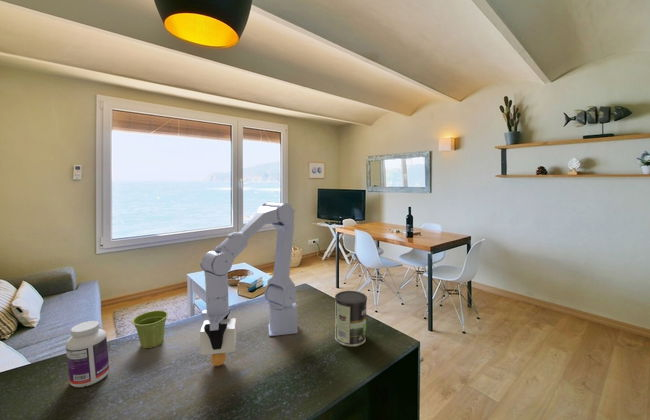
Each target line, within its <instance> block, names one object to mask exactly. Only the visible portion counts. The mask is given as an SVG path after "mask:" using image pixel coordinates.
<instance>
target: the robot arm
mask: <svg viewBox="0 0 650 420" xmlns="http://www.w3.org/2000/svg"><path fill="white" fill-rule="evenodd" d="M295 211H296V210H295V209H294V208H293V207H292V205H291V204H290V203H289V202H284V203H283V202H273V201H265V202H263V203H262V204H261V206H259V207H258V208H257V212H256V213H255V214H254V215H253V216H252V217H251V219H249V221H248V222H246V224H245V225H244V226H243V227H242V228H241V229H240V230H239V231H233V232H229V233H228V234H227V235H226V238H225V239H224V240H222V242H221V243H219V244H218V245H216V246H215V247H214V249H213V250H210V251H207V252H206V253H204V255H203V256H202V259H201V261H200V262H199V265H200V268H201V270H203V272H204V281H205V282H204V283H205V302H206V303H205V304H206V306H205V308H206V309H203V310H202V312H201V315H202V316H205V317H206V318H207V320H209V322H210V324H205V326H204V331H205V332H206V333H207V335H208V337H209V339H210V342H211V345H212V348H213V350H217V349H221V347H222V342H223V335H224V332H225V330H226V327H227V324H221V323H220V322H221V321H222V320H223V319H229V318H228V317H229V315H230V314H231V308H230V307H229V279H228V278H229V277H228V276H229V275H228V272H230V271H231V269H232V265H233V262H235V259H236V258H237V257H238V256H239V255H240V254H241V253H242V252H243V251H244V250H245V249H246V248H247V247H248V245H249V244H248V243H249V242H248V241H249V239H250V238H252V237H253V236H254V235H255V234H256V233H258V232H259V231H260V230H261V229H262V228H263V227H265V225H270V224H272V226H273V227H274V228H275V229H276V230H277V232H276V233H277V234H276V244H275V251H274V252H275V254H274V255H275V256H274V266H273V273H272V275H273V276H271V277H270V278H269V279H268V280H267V285H266V288H265V289H264V294H263V295H264V298H265V300H266V301H267V304H268V305H269V322H268V325H267V326H268V336H269V337H274V336H282V335H283V336H284V335H293V334H298V332H299V331H298V320H299V319H298V306H297V303H296V302H295V301H296V297H297V295H296V287H295V286H296V285H295V283H294V281H293V280H292V279H291V277H290V273H291V264H292V263H291V262H292V255H293V254H292V253H293V243H294V232H295V213H296V212H295Z"/></svg>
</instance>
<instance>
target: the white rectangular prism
mask: <svg viewBox="0 0 650 420" xmlns="http://www.w3.org/2000/svg"><path fill="white" fill-rule="evenodd" d="M220 323H221V324H227V327H226V330H225V332H224V335H223V342H222V347H221V349H217V350H213V348H212V345H211V342H210V339H209V337H208V335H207V333H206V332H205V331H204V326H205V324H210V322H209V320H208V319H207V320H204V321H203V324H202V326H201V328H200V332H199V337H200V339H199V340H200V356H205V355H212V354H218V353H225V354H226V353H234V352H235V351H236V344H237V318H236V317H235V318H227V319H223V320H222V321H221V322H220Z"/></svg>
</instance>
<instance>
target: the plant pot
mask: <svg viewBox="0 0 650 420" xmlns="http://www.w3.org/2000/svg"><path fill="white" fill-rule="evenodd" d="M168 316H169V314H168V312H167V311H165V310H152V311H151V310H150V311H147V312H144V313H142V314H139V315H138V316H137V315H136V317H134V318H133V319H132V321H131V323H132V324H133V325H134V328H135V329H136V332H137V335H138V339H139V343H140V347H141V348H142V347H143V348H142V349H153V348H152V347H154V348H156V347H158V346H161V344H162V343H163V342H164V339H165V327H166V320H167V318H168ZM157 345H158V346H157ZM155 346H156V347H155Z"/></svg>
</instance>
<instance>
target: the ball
mask: <svg viewBox="0 0 650 420" xmlns="http://www.w3.org/2000/svg"><path fill="white" fill-rule="evenodd" d="M226 359H227V354H226V353H218V354H211V357H210V362H211V364H212V365H213V366H214V367H215V366H216V367H221V366H222V365H223V364H224V363H225V362H226V361H227V360H226Z"/></svg>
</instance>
